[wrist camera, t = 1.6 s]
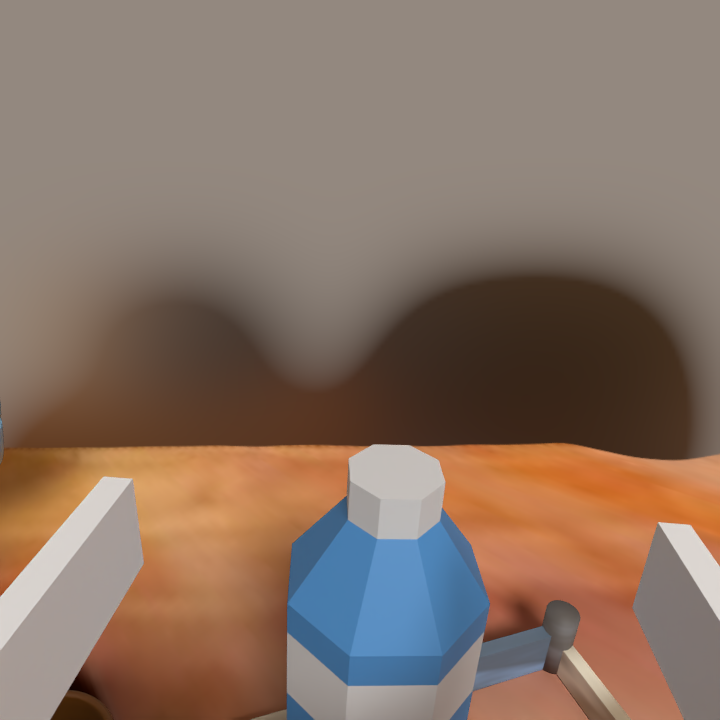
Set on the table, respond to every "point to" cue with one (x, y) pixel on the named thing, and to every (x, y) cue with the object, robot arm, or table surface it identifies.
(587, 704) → the frame
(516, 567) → the table surface
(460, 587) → the water bottle
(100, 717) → the mug
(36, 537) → the table surface
